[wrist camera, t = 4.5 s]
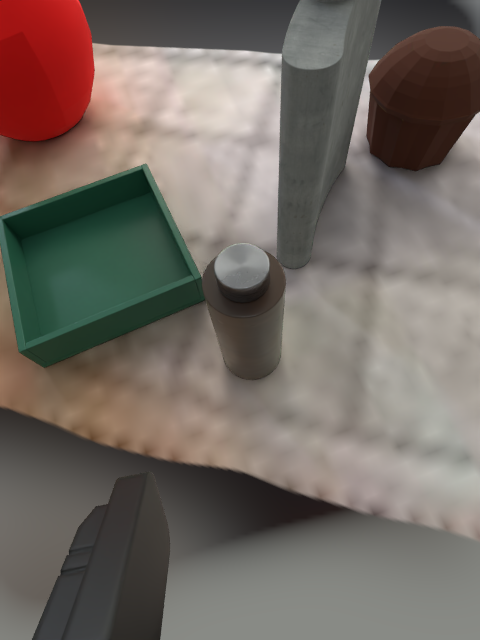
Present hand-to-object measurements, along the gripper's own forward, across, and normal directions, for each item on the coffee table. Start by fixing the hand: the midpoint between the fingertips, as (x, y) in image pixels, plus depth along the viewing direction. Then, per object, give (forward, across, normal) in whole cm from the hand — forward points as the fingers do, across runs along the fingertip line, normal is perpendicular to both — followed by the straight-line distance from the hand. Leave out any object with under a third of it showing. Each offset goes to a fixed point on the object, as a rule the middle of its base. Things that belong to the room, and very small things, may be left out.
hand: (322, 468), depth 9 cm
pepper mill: (+21, 0, +5) cm, 22 cm away
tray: (+29, +12, -3) cm, 32 cm away
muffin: (+36, -22, -10) cm, 43 cm away
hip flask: (+31, -9, -5) cm, 33 cm away
